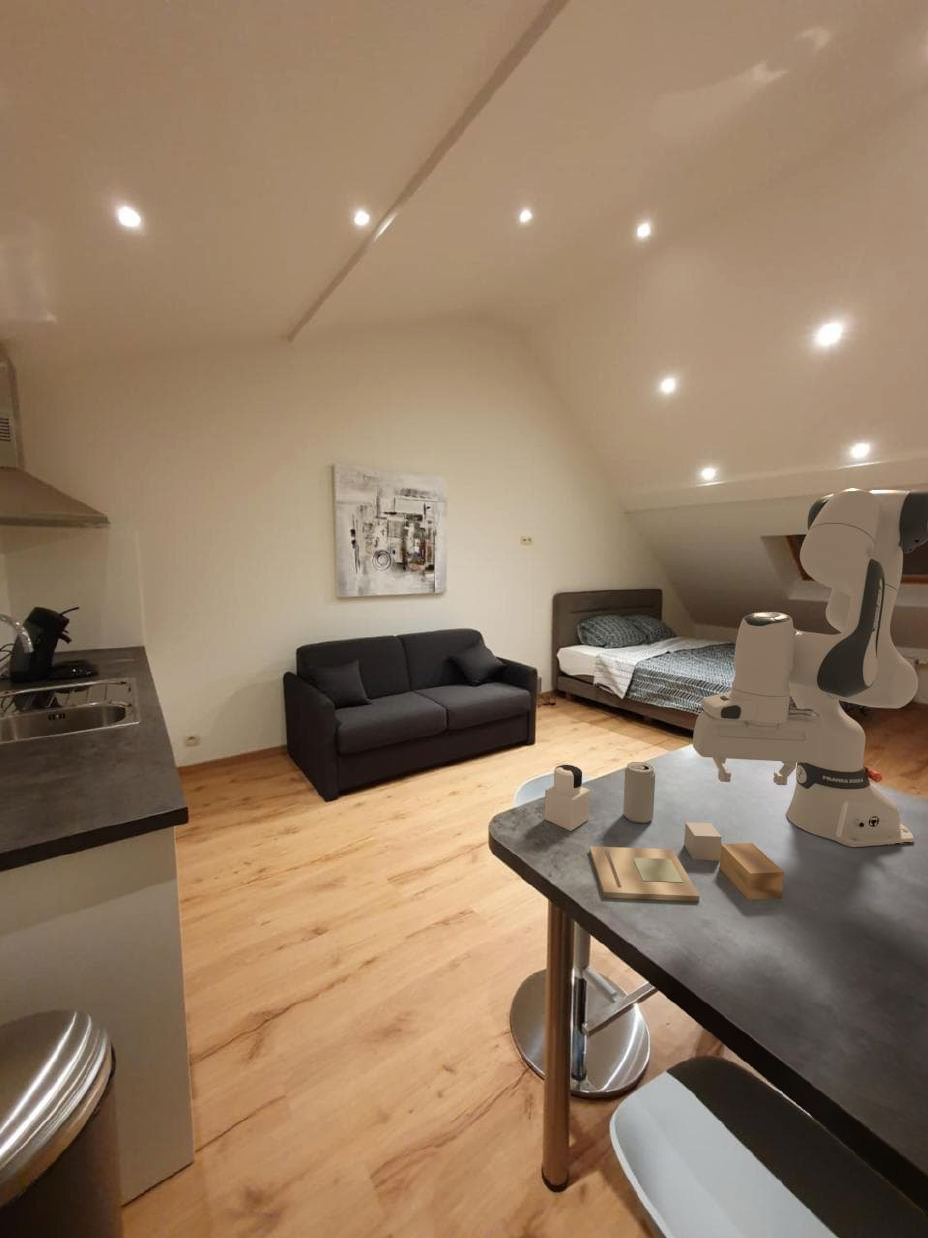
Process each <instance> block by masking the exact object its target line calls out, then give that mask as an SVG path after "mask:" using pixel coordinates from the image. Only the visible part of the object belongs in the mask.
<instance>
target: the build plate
mask: <svg viewBox="0 0 928 1238" xmlns="http://www.w3.org/2000/svg"><path fill="white" fill-rule="evenodd" d="M589 853H590V857H591V860H592V862H593V866H594V869H595V872H596V876H597V879H598V882H599V885H600V889H601V892H602V896H603V898H610V899H612V898H613V899H630V900H631V899H635V900H657V901H680V902H683V901H684V902H700V894H699V892H698V891H697V889H696V888H695V885H694V884H693V882H692V880H691V879H690V877H689V875H688V873H687V872H686V870H685V868H684V867H683V865H682V863H681V862H680V859H679V858H678V857H677V855H676V853H675V851H674V850H673V849H672V848H645V847H644V848H643V847H621V846H620V847H618V846H616V847H615V846H614V847H613V846H592V845H591V846H589Z"/></svg>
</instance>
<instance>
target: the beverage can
mask: <svg viewBox="0 0 928 1238" xmlns="http://www.w3.org/2000/svg"><path fill="white" fill-rule="evenodd" d="M623 783H624V784H623V785H624V786H623V807H622V808H623V811H622V813H623V816H624V817H626V819H627V820H628V821H630V822H633V823H637V824H646V823H649V822H650V821H652V820H653V818H654V809H655V791H656V790H655V789H656V773H655V768H654V766H653V765H651V764H649V763H646V762H643V761H642V762H641V761H632V762H628V763H627V764H626V768H625V769H624V781H623Z"/></svg>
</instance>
